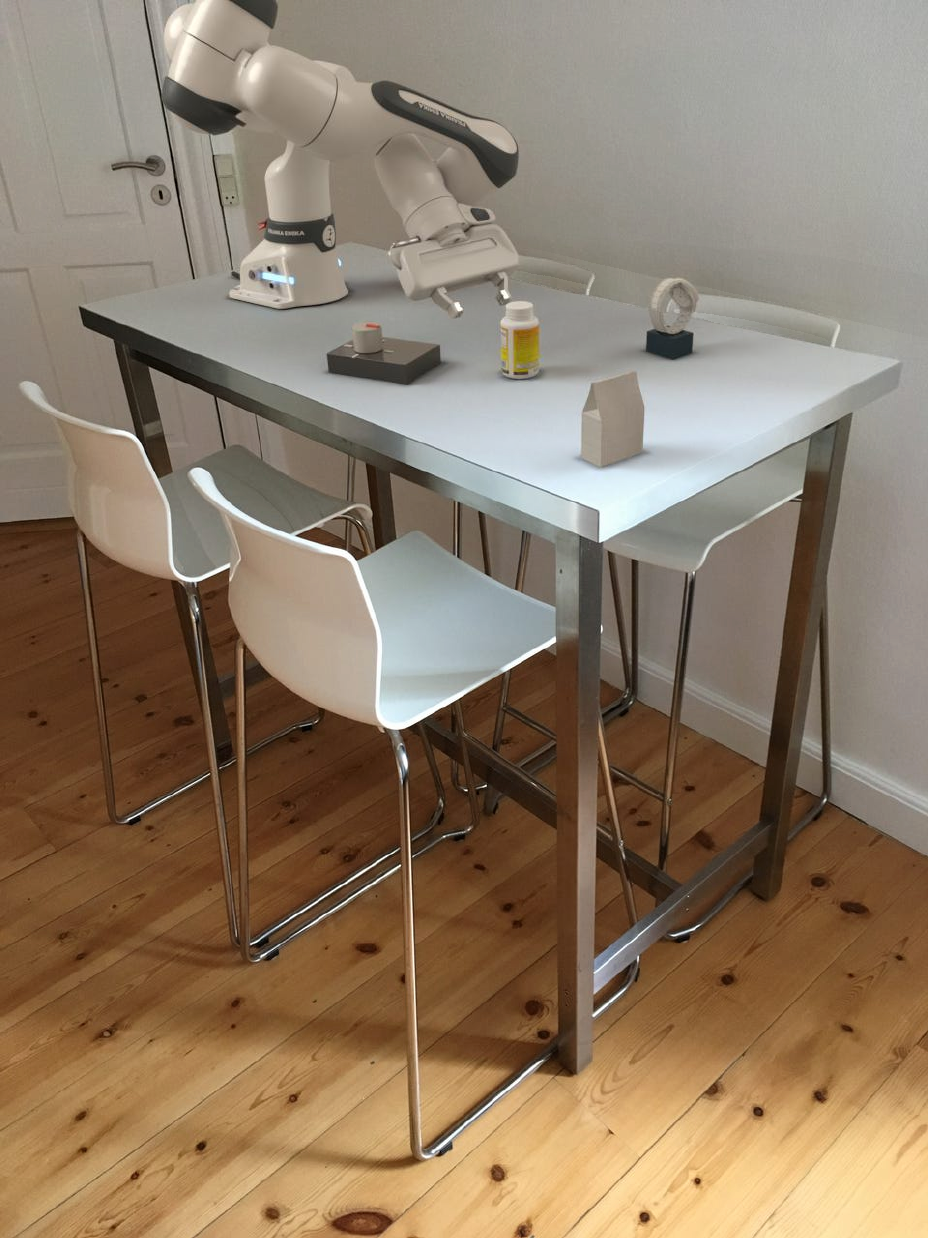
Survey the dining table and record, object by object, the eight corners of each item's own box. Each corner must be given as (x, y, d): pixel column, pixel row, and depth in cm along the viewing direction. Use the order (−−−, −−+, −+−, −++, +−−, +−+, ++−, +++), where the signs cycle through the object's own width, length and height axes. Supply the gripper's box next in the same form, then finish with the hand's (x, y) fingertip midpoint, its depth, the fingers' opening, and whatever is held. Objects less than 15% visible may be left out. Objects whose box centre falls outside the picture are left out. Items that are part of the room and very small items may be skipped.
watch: (700, 349, 167) (706, 277, 161) (664, 362, 162) (668, 287, 157) (673, 341, 170) (677, 270, 165) (637, 353, 166) (640, 280, 160)
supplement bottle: (546, 371, 161) (546, 302, 156) (525, 382, 157) (524, 312, 152) (515, 365, 164) (514, 297, 159) (494, 376, 160) (492, 306, 155)
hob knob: (348, 351, 163) (345, 326, 161) (364, 342, 166) (362, 318, 164) (372, 354, 161) (370, 329, 159) (388, 346, 165) (386, 321, 163)
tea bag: (642, 453, 134) (646, 374, 129) (600, 467, 131) (602, 387, 126) (622, 443, 137) (625, 367, 132) (580, 457, 134) (582, 379, 129)
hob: (327, 372, 165) (325, 352, 163) (364, 352, 172) (362, 332, 170) (405, 385, 159) (404, 364, 157) (441, 363, 166) (440, 343, 164)
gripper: (390, 230, 156) (435, 312, 155) (499, 207, 167) (542, 283, 165) (375, 257, 162) (418, 336, 160) (482, 233, 172) (523, 307, 171)
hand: (482, 309), depth 163 cm, fingers open, 8 cm apart
